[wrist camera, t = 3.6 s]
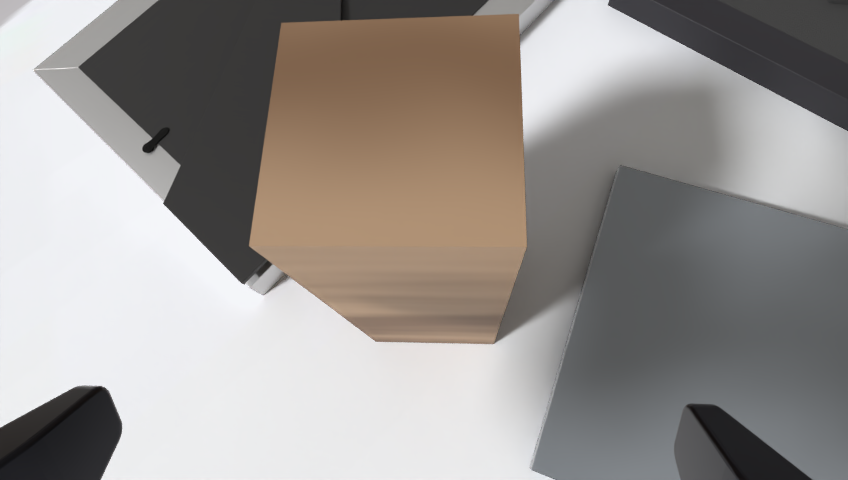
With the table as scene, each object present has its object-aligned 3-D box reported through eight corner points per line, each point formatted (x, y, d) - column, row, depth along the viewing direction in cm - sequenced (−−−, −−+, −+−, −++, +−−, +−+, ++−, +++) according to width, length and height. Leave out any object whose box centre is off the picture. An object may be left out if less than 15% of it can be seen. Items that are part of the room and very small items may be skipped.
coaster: (911, 623, 16) (928, 631, 15) (529, 468, 18) (531, 469, 17) (943, 264, 19) (958, 260, 18) (616, 171, 21) (620, 165, 21)
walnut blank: (493, 343, 19) (527, 247, 8) (375, 341, 20) (249, 246, 8) (492, 231, 21) (518, 13, 9) (382, 231, 21) (281, 22, 10)
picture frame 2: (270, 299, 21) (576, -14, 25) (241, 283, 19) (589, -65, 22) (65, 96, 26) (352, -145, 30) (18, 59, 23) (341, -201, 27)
